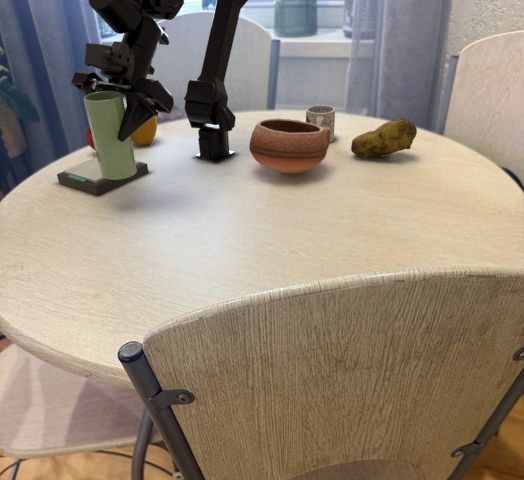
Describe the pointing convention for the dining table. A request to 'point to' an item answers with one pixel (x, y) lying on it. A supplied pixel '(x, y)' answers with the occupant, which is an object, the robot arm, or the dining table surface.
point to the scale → (95, 177)
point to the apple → (145, 132)
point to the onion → (90, 139)
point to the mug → (322, 117)
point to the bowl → (289, 144)
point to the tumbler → (109, 134)
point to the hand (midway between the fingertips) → (105, 137)
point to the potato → (385, 139)
